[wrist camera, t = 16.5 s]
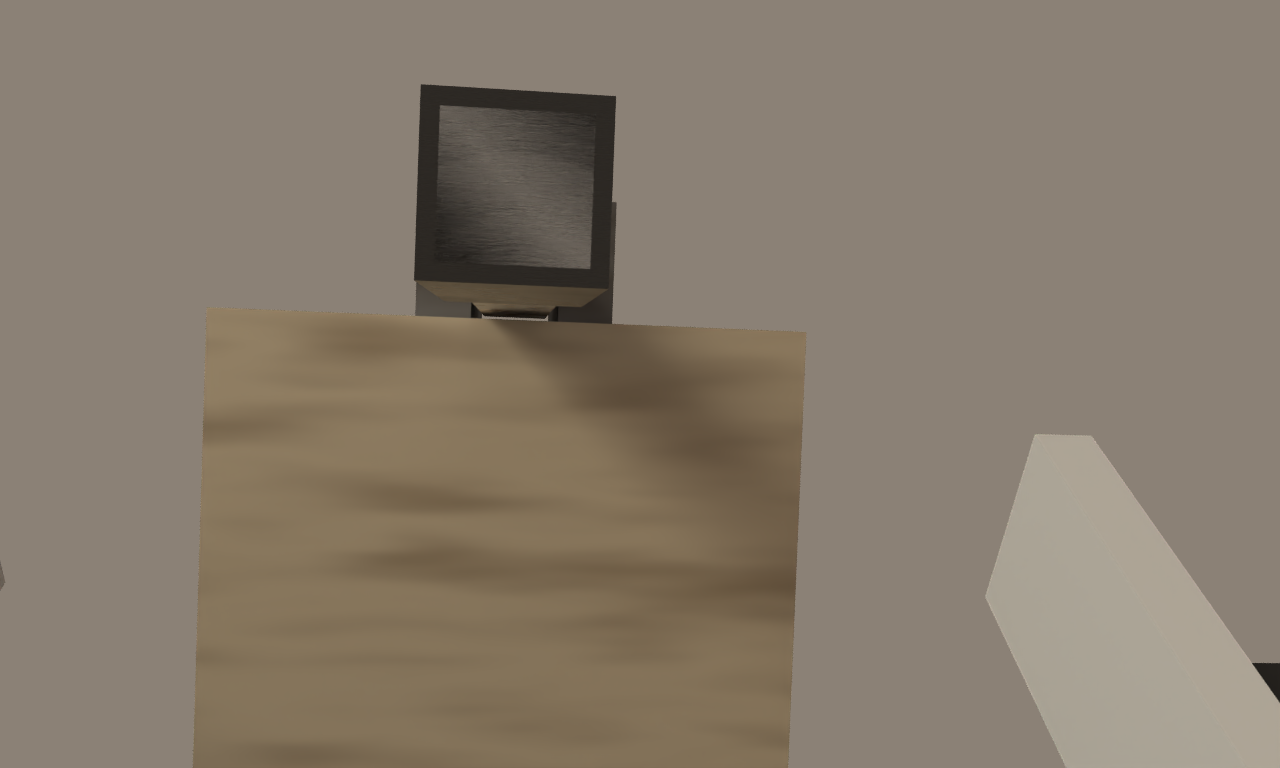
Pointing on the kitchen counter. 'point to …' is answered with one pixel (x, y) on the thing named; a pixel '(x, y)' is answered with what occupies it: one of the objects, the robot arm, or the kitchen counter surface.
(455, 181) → the grey square bar
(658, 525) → the oak stand
